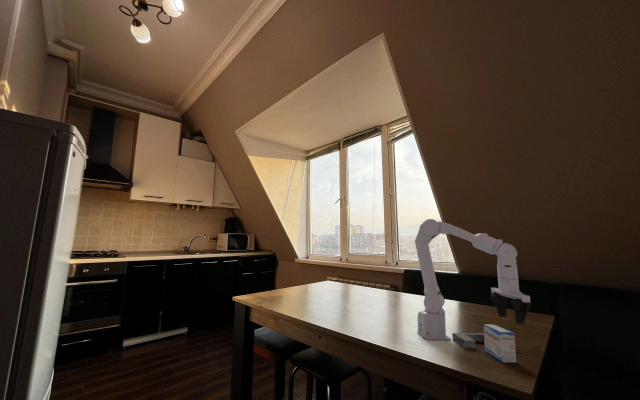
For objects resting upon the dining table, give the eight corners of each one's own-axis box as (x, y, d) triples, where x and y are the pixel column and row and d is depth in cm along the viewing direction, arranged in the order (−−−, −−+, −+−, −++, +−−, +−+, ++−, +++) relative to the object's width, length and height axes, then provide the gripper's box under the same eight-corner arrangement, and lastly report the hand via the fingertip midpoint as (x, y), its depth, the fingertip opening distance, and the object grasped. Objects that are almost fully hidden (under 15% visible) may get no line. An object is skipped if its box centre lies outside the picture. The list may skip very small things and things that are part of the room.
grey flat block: (464, 348, 88) (464, 340, 89) (452, 340, 95) (452, 333, 96) (506, 348, 89) (506, 340, 89) (492, 340, 96) (491, 333, 97)
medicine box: (484, 351, 86) (482, 323, 87) (497, 351, 86) (495, 324, 88) (503, 362, 78) (500, 332, 80) (517, 362, 79) (514, 332, 80)
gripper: (537, 281, 83) (541, 327, 81) (502, 275, 98) (505, 314, 96) (516, 281, 83) (520, 326, 81) (484, 275, 97) (487, 313, 95)
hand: (511, 320), depth 88 cm, fingers open, 7 cm apart
